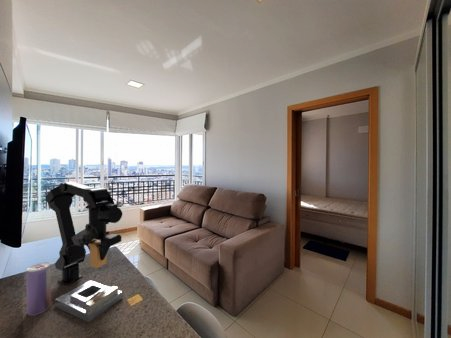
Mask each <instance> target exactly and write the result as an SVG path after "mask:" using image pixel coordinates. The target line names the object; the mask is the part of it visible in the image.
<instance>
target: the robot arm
mask: <svg viewBox="0 0 451 338" xmlns="http://www.w3.org/2000/svg"><path fill="white" fill-rule="evenodd" d="M75 196H78V197H80V198H82V201H83V202H85V203H86V204H87V205H86V206H85V207H84V208H85V209H86V210H88V223H86V224H85V227H84V229H82V230H81V231H79V232H77V233H76V229H75V226H74V223H73V222H74V221H73V218H72V214H71V209H70V208H71V207H72V204H73V198H74V197H75ZM45 201H46V202H47V204H48V205H47V206H48V207H49V208H50V210H52V211H54V212H55V216H56V221H57V225H58V230H59V234H60V238H61V243H62V246H61V247H60V250H59V257H58V259H57V260H56V261H55V263H54V266H55V269H57V270H58V271H61V277H60V278H59V279H57V282H58V283H61V284H64V285H68V284H71V283H73V282H75V281H77V280H79V279H81V278H82V277H83V276H84V275H83V274H81V273H80V264H81V263H83V262H85V259H86V254H87V250H86V248H85V246H86V247H87V249H88V251H89V252H90V246H88V244H89V243H91V242H94V241H97V240H99V241H101V242H100V244H99V245H96V247H98V248H99V252H100V259H101V261H102V260H104V258H105V256H106V254H107V255H108V252H109V250H110V248H111V247H112V246H114V245H117V244H119V243H121V242H122V235H121V234H118V233H111V234H110V231H109V230H107V225H109V224H110V223H111V224H116V223H118V222H120V220H121V219H122V217H123V211H122V209H121V208H120V207H118V204H116V203H115V202H114V199H113V197H112V196H111V193H110V192H109V191H108V188H106V187H91V186H88V185H84V184H81V183H78V182H76V181H63V182H61V183H60V184H59V185H57V186H56V187H54V188H52V189H50V190H49V192H48V193H47V194H46V195H45ZM108 234H109V235H108Z"/></svg>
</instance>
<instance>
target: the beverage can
mask: <svg viewBox="0 0 451 338" xmlns="http://www.w3.org/2000/svg"><path fill="white" fill-rule="evenodd" d="M51 268H52V267H51V263H50V262H40V263H36V264H32V265H31V266H29V267H28V268H27V269H26V270H27V271H26V272H25V275H26V276H25V278H26V281H25V282H26V314H27V315H28V316H32V317H33V316H38V315H41V314H43V313H45V312H46V311H48V310H49V308H50V307H51V305H52V273H51V272H52V271H51Z"/></svg>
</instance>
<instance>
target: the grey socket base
mask: <svg viewBox="0 0 451 338" xmlns="http://www.w3.org/2000/svg"><path fill="white" fill-rule="evenodd" d="M122 299H123V291H122V290H119V287H118V286H115V285H112V286H108V285H104V284H102V283H99V282H97V281H94V280H88V281H86V282H84V283H83V284H81V285H79V286H77V287H76V288H73V289H72V290H69V291H67V292H66V293H64V294H62V295H60V296H58V297H57V298H55V299H54V307H55V308H58V309H60V310H61V311H64V312H65V313H69V315H73V316H74V317H77V318H79V319H80V320H83V321H85V322H87V323H90V322H91V321H93V320H94V319H96V318H97V317H99V316H100V315H101V314H103V313H104V312H105V311H107V310H108V309H110V308H111V307H113V305H115V304H116V303H118V302H119V301H121V300H122Z"/></svg>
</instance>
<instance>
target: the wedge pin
mask: <svg viewBox="0 0 451 338" xmlns="http://www.w3.org/2000/svg"><path fill="white" fill-rule="evenodd" d="M100 242H101V241H99V240H97V241H94V242H91V243H89V244H88V246H90V251H89V267H91V268H94V269H95V268H96V269H98V268H101V267H102V266H104V265H106V264H107V263H108V253H107V254H106V256H105V258H104V260H102V261H101V259H100V252H99V248H98V247H96V245H99V244H100Z"/></svg>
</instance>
